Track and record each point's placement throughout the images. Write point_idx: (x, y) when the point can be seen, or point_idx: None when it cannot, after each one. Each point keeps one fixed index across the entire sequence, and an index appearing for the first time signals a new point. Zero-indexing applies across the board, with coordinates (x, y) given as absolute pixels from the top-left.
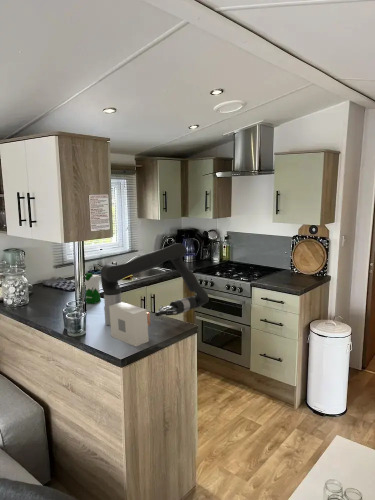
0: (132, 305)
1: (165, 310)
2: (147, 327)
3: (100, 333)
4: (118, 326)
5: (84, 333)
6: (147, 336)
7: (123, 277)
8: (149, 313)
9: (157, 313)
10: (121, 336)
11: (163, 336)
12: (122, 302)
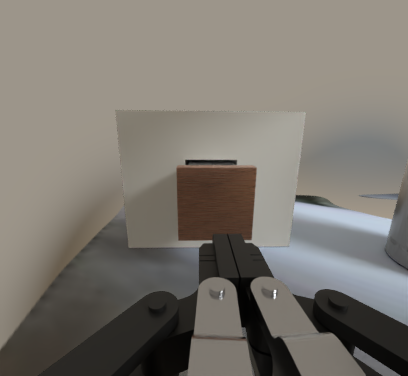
0: (221, 111)
1: (195, 317)
2: (123, 191)
3: (310, 216)
4: None
5: (329, 205)
6: (128, 226)
7: None
8: (176, 171)
9: (212, 244)
10: None
11: (86, 306)
12: (298, 112)
